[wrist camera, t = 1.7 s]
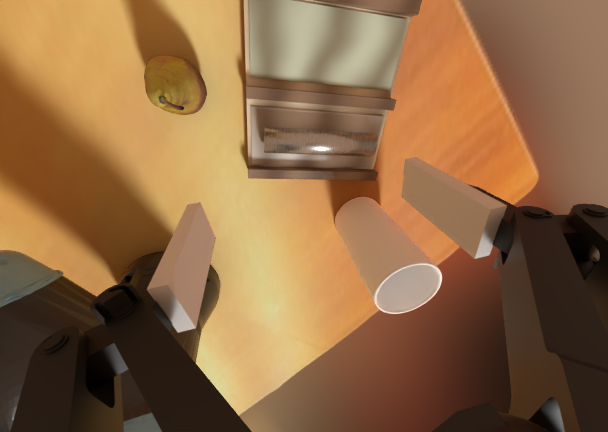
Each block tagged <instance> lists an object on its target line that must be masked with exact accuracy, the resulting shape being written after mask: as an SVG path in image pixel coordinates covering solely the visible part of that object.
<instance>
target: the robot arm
mask: <svg viewBox="0 0 608 432" xmlns="http://www.w3.org/2000/svg"><path fill="white" fill-rule="evenodd" d="M402 198H403V199H405V200H406V201H407V202H408V203H409V204H411V205H412V206H413V207H414V208H415V209H416V210H418V211H419V212H420V213H421V214H422V215H424V216H425V217H426V218H427V219H428V220H429V221H431V222H432V223H433V224H434V225H435V226H437V227H438V228H439V229H440V230H441V231H442V232H444V233H445V234H446V235H447V236H448V237H450V238H451V239H452V240H453V241H454V242H455V243H457V244H458V245H459V246H460V247H461V248H463V249H464V250H465V251H466V252H467V253H469V254H470V255H471V256H472V257H473V258H474V259H475V258H480V257H484V256H488V255H490V252H491V249H492V246H493V245H494V246H496V247H497V248H498V249H500V250H499V253H498V255H497V258H496V261H495V263H494V266H493V268H496V267H497V265H498V266H499V275H500V285H501V294H502V303H503V314H504V323H505V333H506V342H507V352H508V361H509V371H510V380H511V390H512V401H511V406H510V411H509V414H504V413H498V412H497V410H496V409H495V408H494V406H493V405H492V403H491V402H487V403H484V404H481V405H477V406H474V407H471V408H467V409H464V410H461V411H458V412H456V413H454V414H453V415H452V416H451V417H449V418H448V419H447V420H446V421H445V422H443V423H442V424H441V425H440V426H439V427H437V428H436V429H435V430H434V431H432V432H608V208H605V207H603V206H600V205H595V204H578V205H575V206H573V208H572V209H571V211H570V213H569V215H554V214H553V213H551V212H550V211H548V210H545V209H542V208H539V207H532V206H522V207H518V208H517V207H516V206H514V205H512V204H510V203H508V202H506V201H504V200H502V199H500V198H498V197H496V196H494V195H492V194H490V193H487V192H486V191H485V190H483V189H481V188H479V187H475V186H472V185H468V184H465V183H464V182H462V181H460V180H458V179H456V178H454V177H452V176H450V175H448V174H447V173H445V172H443V171H441V170H439V169H437V168H435V167H433V166H431V165H430V164H428V163H426V162H424V161H422V160H420V159H418V158H411V159H406V160H405V165H404V177H403V188H402ZM215 239H216V238H215V235H214V233H213V231H212V228H211V226H210V224H209V221H208V219H207V217H206V214H205V212H204V210H203V207H202V205H201V203H200V202H199V203H195V204H190V205H187V207H186V209H185V211H184V213H183V215H182V217H181V219H180V222H179V224H178V226H177V228H176V230H175V232H174V234H173V236H172V238H171V240H170V242H169V244H168V246H167V248H166V251H165V252H159V253H153V254H149V255H146V256H143V257H141V258H139V259H137V260H136V261H134V262H133V263H132V264H131V265H130V266H129V267H128V268H127V270H126V271H125V273H124V274H123V276H122V278H121V279H120V281H119V284H118V285H114V286H112V287H110V288H108V289H107V290H105V291H104V292H102V293H101V294H100V295H99V296H98V297H97V296H95V295H93V294H91V293H90V292H88V291H87V290H85V289H83V288H82V287H80V286H79V285H77V284H75V283H74V282H72V281H70V280H69V279H67V278H66V277H64V276H62V275H63V272H61V271H59V270H53V269H51V268H49V267H47V266H46V265H44V264H42V263H40V262H38V261H36V260H34V259H33V258H31V257H29V256H27V255H25V254H23V253H20V252H16V251H11V250H0V432H251V430H250V429H249V428H248V427H247V426H246V424H245V423H244V422H243V421H242V420H241V418H240V417H239V416H238V414H237V413H236V412H235V411H234V410H233V408H232V407H231V406H230V405H229V404H228V402H227V401H226V400H225V399H224V397H223V396H222V395H221V394H220V393H219V391H218V390H217V389H216V388H215V386H214V385H213V384H212V383H211V382H210V380H209V379H208V378H207V377H206V376H205V374H204V373H203V372H202V371H201V369H200V368H199V367H198V366H197V365H196V357H197V351H198V346H199V340H200V335H201V331H202V328H203V327H204V325H205V323H206V322H207V320H208V318H209V317H210V315H211V313H212V311H213V310H214V308H215V306H216V304H217V302H218V299H219V293H220V280H219V277H218V275H217V273H216V272H215V271H214V269H213V268H212V267H211V266H210V262H211V257H212V253H213V248H214V244H215ZM598 250H599V253H600V259H599V261H598V260H597V259H596V258H595V257H594V255H595V254H596V252H597V251H598Z"/></svg>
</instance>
